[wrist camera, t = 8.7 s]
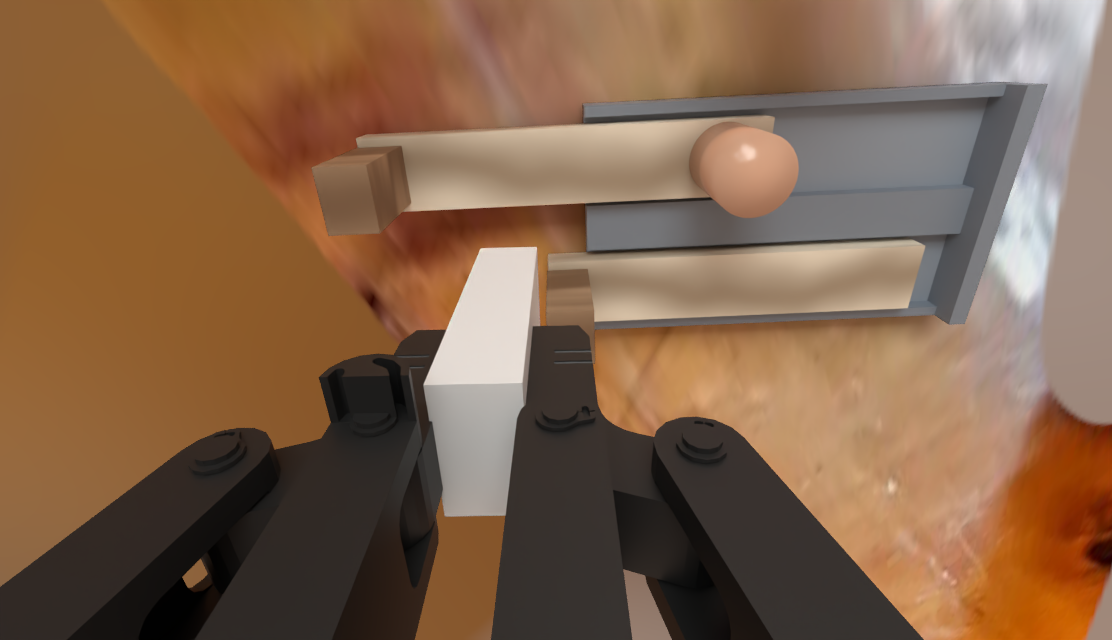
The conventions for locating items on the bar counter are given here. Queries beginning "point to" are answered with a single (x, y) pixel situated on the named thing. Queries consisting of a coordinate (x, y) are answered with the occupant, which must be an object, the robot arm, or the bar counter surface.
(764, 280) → the strip
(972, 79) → the bar counter surface
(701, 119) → the strip
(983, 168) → the lane board
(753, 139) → the terracotta cylinder
